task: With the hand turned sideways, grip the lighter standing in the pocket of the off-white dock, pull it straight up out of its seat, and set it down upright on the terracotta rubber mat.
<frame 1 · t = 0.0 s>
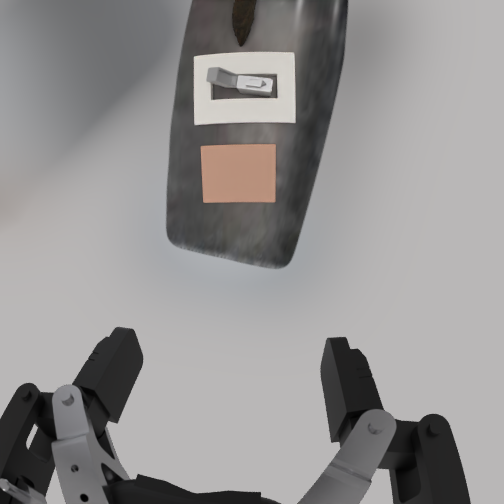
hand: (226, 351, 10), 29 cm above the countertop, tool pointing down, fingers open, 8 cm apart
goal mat: (238, 173, 36), on the countertop
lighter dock: (244, 87, 31), on the countertop
lighter: (244, 88, 31), resting in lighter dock
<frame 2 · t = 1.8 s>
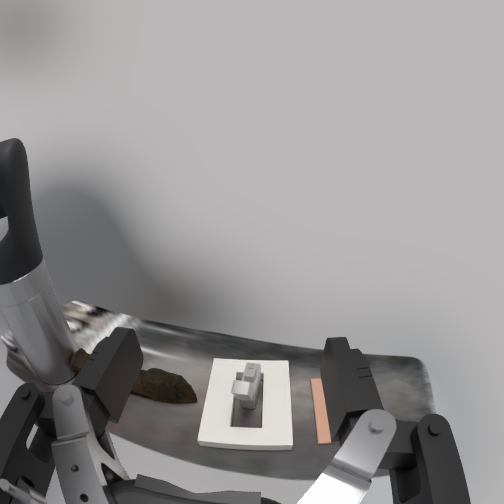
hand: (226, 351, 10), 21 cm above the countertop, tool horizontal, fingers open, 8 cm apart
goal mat: (345, 408, 28), on the countertop
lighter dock: (248, 404, 29), on the countertop
lighter: (248, 405, 29), resting in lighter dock
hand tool: (134, 385, 31), on the countertop
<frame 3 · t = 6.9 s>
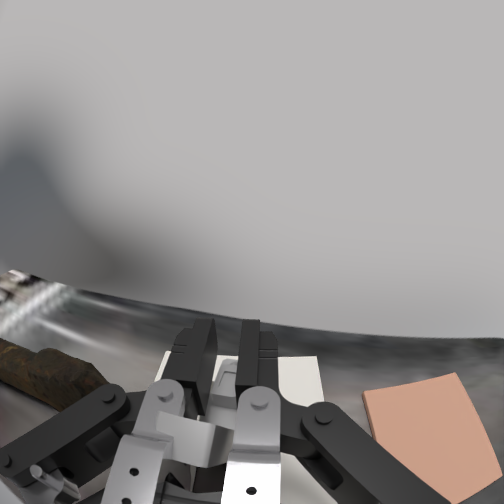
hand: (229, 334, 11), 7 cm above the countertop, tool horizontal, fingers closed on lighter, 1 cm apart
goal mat: (434, 442, 10), on the countertop
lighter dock: (231, 454, 11), on the countertop
lighter: (231, 454, 11), resting in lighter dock, touching gripper
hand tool: (37, 384, 14), on the countertop
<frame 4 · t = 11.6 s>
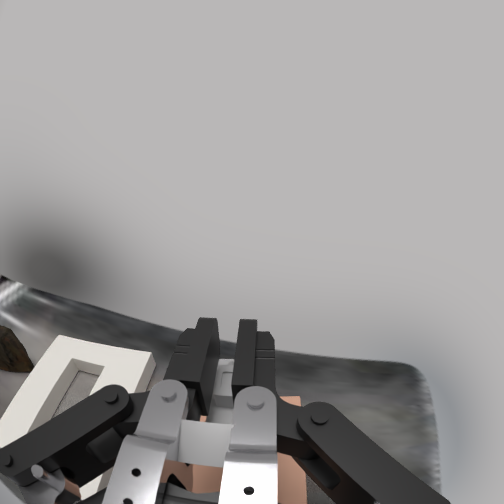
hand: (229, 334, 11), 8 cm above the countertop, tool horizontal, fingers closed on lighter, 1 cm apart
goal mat: (235, 461, 12), on the countertop
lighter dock: (73, 412, 14), on the countertop
lighter: (233, 453, 12), point 1 cm above the countertop, touching gripper
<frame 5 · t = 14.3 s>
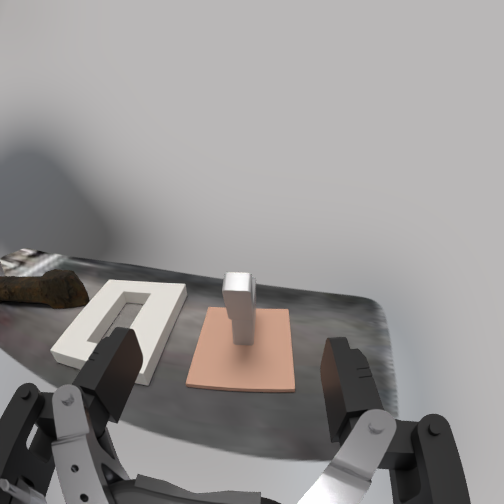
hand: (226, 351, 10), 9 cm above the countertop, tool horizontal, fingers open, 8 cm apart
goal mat: (244, 345, 22), on the countertop
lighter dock: (124, 327, 24), on the countertop
lighter: (243, 342, 23), resting on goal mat
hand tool: (39, 302, 27), on the countertop
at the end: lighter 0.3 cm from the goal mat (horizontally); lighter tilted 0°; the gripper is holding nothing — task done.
